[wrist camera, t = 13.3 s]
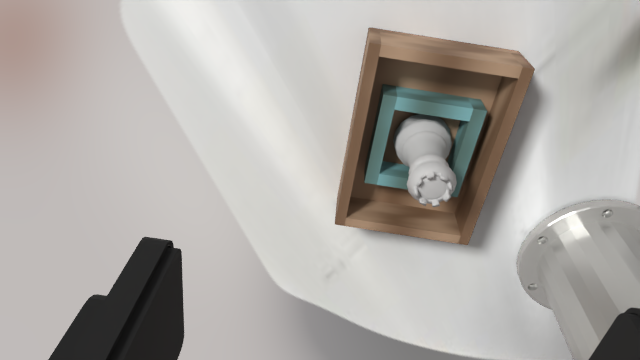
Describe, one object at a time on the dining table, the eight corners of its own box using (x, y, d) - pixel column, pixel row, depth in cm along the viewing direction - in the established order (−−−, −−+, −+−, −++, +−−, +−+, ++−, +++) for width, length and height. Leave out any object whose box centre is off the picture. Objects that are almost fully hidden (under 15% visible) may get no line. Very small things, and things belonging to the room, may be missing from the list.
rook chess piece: (422, 99, 37) (435, 148, 30) (462, 135, 38) (483, 190, 31) (381, 138, 39) (384, 192, 32) (420, 171, 40) (431, 230, 33)
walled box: (518, 51, 35) (534, 69, 32) (459, 216, 43) (467, 245, 40) (368, 27, 35) (369, 42, 32) (337, 197, 43) (334, 224, 40)
